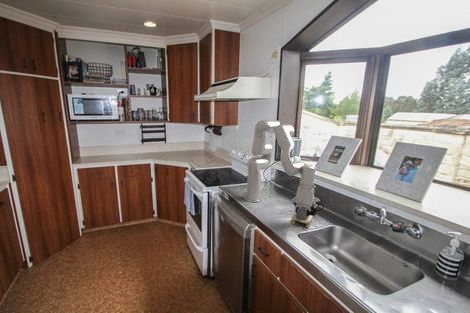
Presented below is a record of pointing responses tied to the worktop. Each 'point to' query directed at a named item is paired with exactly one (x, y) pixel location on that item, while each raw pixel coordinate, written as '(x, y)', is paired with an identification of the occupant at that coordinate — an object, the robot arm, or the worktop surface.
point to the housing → (302, 212)
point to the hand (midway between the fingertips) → (302, 214)
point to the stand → (307, 221)
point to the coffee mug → (313, 212)
